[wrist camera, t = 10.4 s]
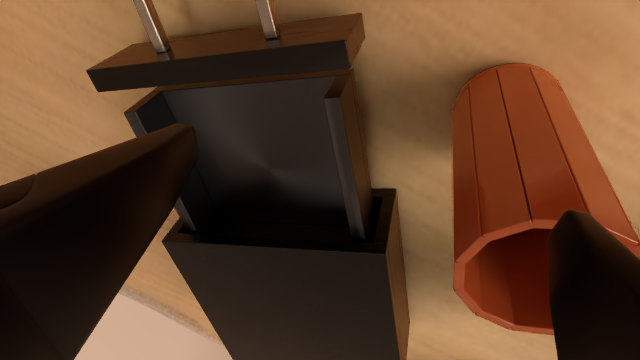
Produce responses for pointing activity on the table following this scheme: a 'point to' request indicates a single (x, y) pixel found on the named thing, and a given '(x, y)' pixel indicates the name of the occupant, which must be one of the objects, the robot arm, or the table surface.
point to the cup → (520, 191)
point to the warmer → (301, 291)
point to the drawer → (258, 123)
